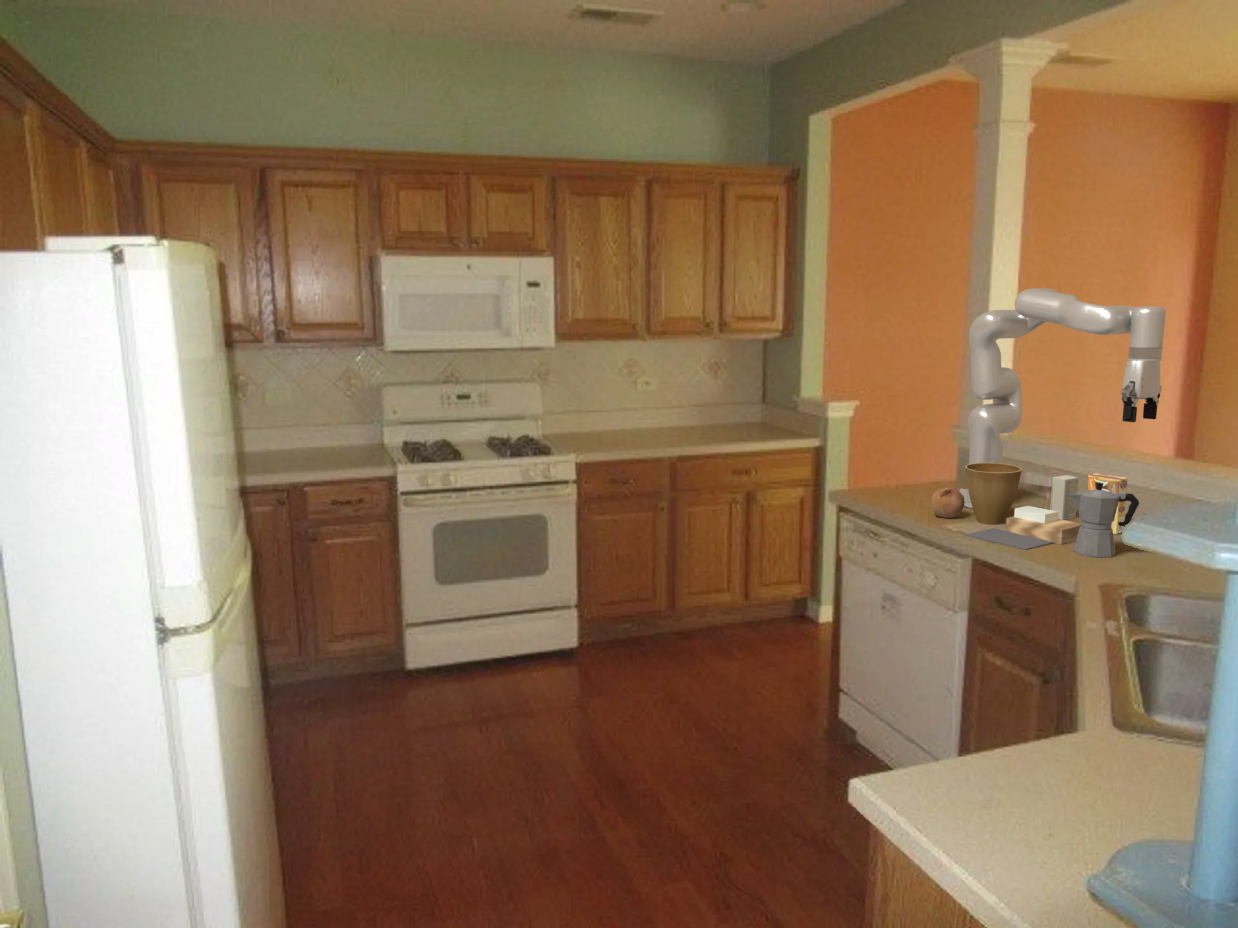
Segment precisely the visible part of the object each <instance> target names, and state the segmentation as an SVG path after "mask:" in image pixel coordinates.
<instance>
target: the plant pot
mask: <svg viewBox="0 0 1238 928" xmlns="http://www.w3.org/2000/svg"><path fill="white" fill-rule="evenodd" d="M964 467H965V476H966V477H965V478H966V484H967V489H968V491H969V496H970V500H971V504H972V508H971V509H972V510H973V514H974V517H975V519H976V521H977V522H978V523H980V524H986V525H1002V524H1004V523H1006V522H1005V521H1007V518H1008V515H1009V513H1010V511H1011V509H1012V505H1013V504H1014V502H1015V501H1014V500H1015V498H1016V494H1017V491H1018V488H1019V484H1020V481H1021V475H1022V471H1023V468H1022V467H1021V466H1020V467H1019V466H1016V465H1014V464H1009V463H1003V462H1002V463H974V464H969V463H968V464H966V465H965V466H964Z"/></svg>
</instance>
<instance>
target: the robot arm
mask: <svg viewBox="0 0 1238 928" xmlns="http://www.w3.org/2000/svg"><path fill="white" fill-rule="evenodd" d="M1166 312H1167V311H1166V309H1165V308H1164V307H1163V306H1158V305H1157V306H1156V305H1155V306H1154V305H1153V306H1151V305H1149V306H1148V305H1146V306H1145V305H1144V306H1131V305H1100V304H1094V303H1089V302H1083V301H1080V300H1079V298H1078V297H1077V296H1076V295H1075V294H1069V293H1062V292H1058V291H1057V290H1056V289H1054V288H1048V287H1047V288H1045V287H1044V288H1043V287H1042V288H1041V287H1039V288H1038V287H1035V288H1034V287H1033V288H1027V289H1024V290H1022V291H1020V292H1019V293H1018V294H1017V296H1016V298H1015V300H1014V309H995V310H990V311H986V312H983V313H982V314H980V315H979V316H977V317H976V318H975V319H974V320H973V322H971V323H972V324H971V325H970V328H969V331H968V332H969V333H968V343H969V349H970V372H971V373H970V377H971V390H972V393H973V395H974V397H975V398H976V399H979V400H988V401H989V400H992V403H986V404H982V405H981V404H980V405H978V406H976V407H974V408H973V409H972V410H971V411H970V413H969V415H968V418H967V427H968V429H967V430H968V436H969V454H968V465H969V464H974V463H1002V464H1003V457H1004V456H1003V453H1004V448H1003V442H1002V439H1001V437H1000V436H1001V434H1002V435H1003V434H1010V433H1013V432H1014V431H1016V430H1017V429H1018V428H1019V427H1020V426H1021V423H1022V419H1023V417H1022V416H1023V408H1022V407H1023V405H1022V404H1023V403H1022V382H1021V378H1020V377H1019V374H1018V373H1017V372H1016V371H1015V370H1013V369H1012V368H1010V367H1006V366H1004V367H1002V353H1001V349H1000V347H999V345H998V343H997V340H1001V339H1019V338H1022V337H1024V336H1026V335H1028V334H1029V333H1031V332H1033V331H1034V330H1036V329H1038V328H1039V327H1041V326H1042V325H1044V324H1045V323H1051V324H1054V325H1060V326H1062V327H1063V326H1064V327H1066V328H1069V329H1071V330H1076V331H1080V332H1084V333H1088V334H1093V335H1099V336H1110V335H1128V334H1129V344H1128V355H1127V362H1126V364H1125V365H1126V366H1125V368H1124V376H1123V380H1122V389H1121V391H1120V392H1121V397H1122V398H1121V400H1122V406H1123V409H1122V418H1121V419H1122V422H1126V423H1136V422H1137V413H1138V406H1136V405H1137V403H1138V402H1139V400H1144V401H1145V403H1143V408H1142V409H1143V410H1142V411H1143V412H1142V419H1144V420H1145V419H1146V420H1156V419H1157V417H1158V416H1157V413H1158V405H1159V402H1160V400H1159V399H1160V398H1161V392H1162V389H1163V386H1162V385H1161V361H1162V358H1163V348H1164V346H1163V345H1164V337H1165V328H1166V327H1165V326H1166V324H1165V323H1166ZM958 491H959V492H960V493H961V494H962V495H963V497H964V501H965V502H964V507H967V508H969V509H973V508H972V504H971V500H970V496H969V491H968V488H967V489H966V488H959V490H958Z"/></svg>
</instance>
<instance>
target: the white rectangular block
mask: <svg viewBox="0 0 1238 928" xmlns="http://www.w3.org/2000/svg"><path fill="white" fill-rule="evenodd" d="M1058 513H1059V512H1057V511H1052V510H1050V509H1045V508H1041V507H1037V506H1036V507H1035V506H1031V505H1026V506H1021V507H1020V506H1019V507H1016V508H1014V515H1013V517H1016V518H1021V519H1026V520H1030V521H1035V522H1040V523H1049V522H1053V521H1058Z"/></svg>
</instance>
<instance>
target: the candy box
mask: <svg viewBox="0 0 1238 928" xmlns="http://www.w3.org/2000/svg"><path fill="white" fill-rule="evenodd" d="M1087 479H1088V480H1087V490H1096V489H1097V488H1096V483H1099V482H1100V483H1103V487H1102V490H1104V491H1108V492H1111V493H1114V494H1116V493H1124V494H1126V493H1127V492H1128V491H1127V489H1128V477H1125V476H1117V475H1111V474H1110V475H1109V474H1104V473H1098V472H1097V473H1096V472H1095V473H1091V474H1088V476H1087ZM1087 490H1086V491H1087ZM1126 503H1127V501H1119V503H1118V506H1117V510H1116V514H1115V518H1114V521H1113V522H1112V525H1111V529H1112V530H1113V535H1119V534H1122V533H1123V532H1122V529H1123V527H1124V528H1125V526H1119V524H1118V522H1124V520H1125V515H1126V505H1127V504H1126ZM1121 532H1122V533H1121ZM1118 533H1119V534H1118Z"/></svg>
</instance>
